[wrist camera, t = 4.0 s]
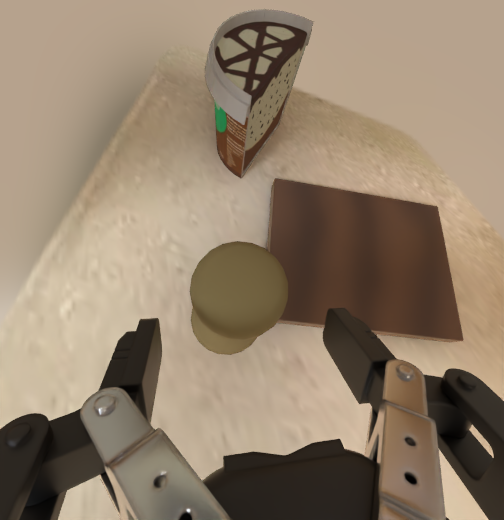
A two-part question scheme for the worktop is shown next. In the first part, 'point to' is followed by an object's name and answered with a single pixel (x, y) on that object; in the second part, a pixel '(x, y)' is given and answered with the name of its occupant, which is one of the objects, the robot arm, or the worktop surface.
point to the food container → (253, 79)
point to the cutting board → (363, 261)
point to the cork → (236, 296)
